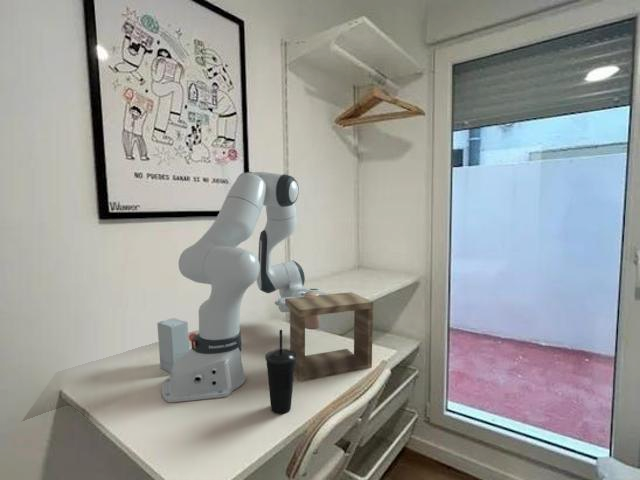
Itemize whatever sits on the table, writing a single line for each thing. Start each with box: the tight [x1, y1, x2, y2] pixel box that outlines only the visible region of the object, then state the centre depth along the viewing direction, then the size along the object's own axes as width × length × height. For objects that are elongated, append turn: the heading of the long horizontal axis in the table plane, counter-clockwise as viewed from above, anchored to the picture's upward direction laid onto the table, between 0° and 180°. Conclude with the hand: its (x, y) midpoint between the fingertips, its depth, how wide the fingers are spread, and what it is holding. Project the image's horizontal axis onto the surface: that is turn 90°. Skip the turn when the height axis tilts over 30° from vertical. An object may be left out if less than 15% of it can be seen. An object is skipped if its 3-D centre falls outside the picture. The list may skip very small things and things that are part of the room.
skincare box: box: [156, 317, 190, 374], centre depth 107 cm, size 8×6×15 cm
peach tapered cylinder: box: [304, 292, 320, 331], centre depth 123 cm, size 5×5×12 cm
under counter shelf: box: [285, 291, 374, 382], centre depth 110 cm, size 24×14×21 cm, turn 113°
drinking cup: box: [264, 329, 297, 415], centre depth 85 cm, size 8×8×20 cm
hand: (312, 308), depth 122 cm, fingers closed on peach tapered cylinder, 5 cm apart
